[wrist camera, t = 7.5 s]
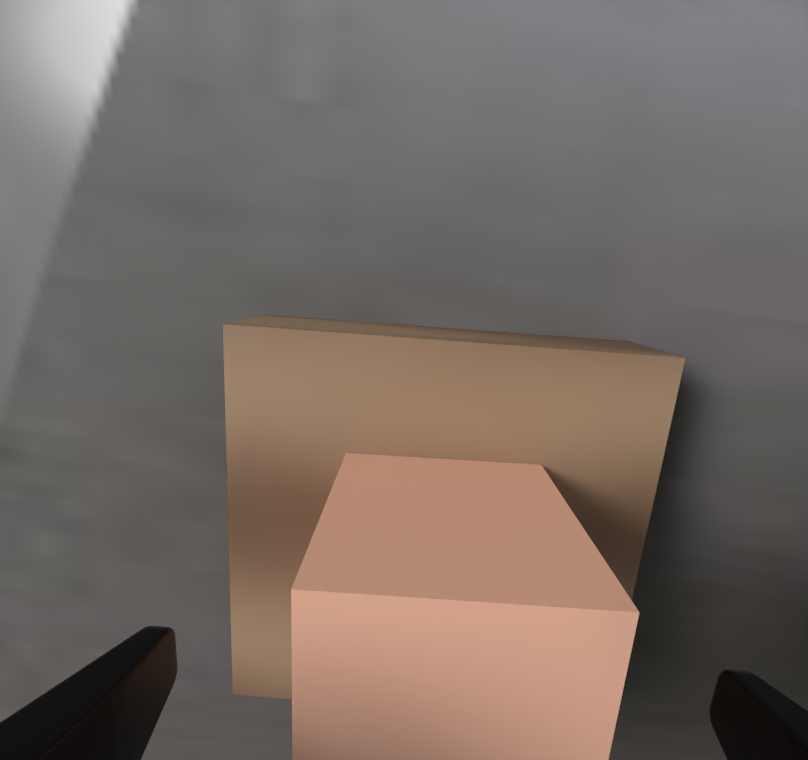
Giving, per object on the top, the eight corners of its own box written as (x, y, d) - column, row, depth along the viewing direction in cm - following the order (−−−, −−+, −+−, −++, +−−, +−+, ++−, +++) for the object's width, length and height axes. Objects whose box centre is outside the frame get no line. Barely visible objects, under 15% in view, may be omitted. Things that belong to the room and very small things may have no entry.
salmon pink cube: (519, 628, 11) (586, 862, 7) (342, 617, 11) (293, 840, 7) (541, 464, 10) (639, 612, 6) (345, 452, 10) (290, 590, 6)
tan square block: (566, 635, 14) (604, 726, 12) (269, 611, 15) (232, 694, 12) (621, 339, 12) (685, 357, 9) (269, 313, 12) (222, 324, 9)
